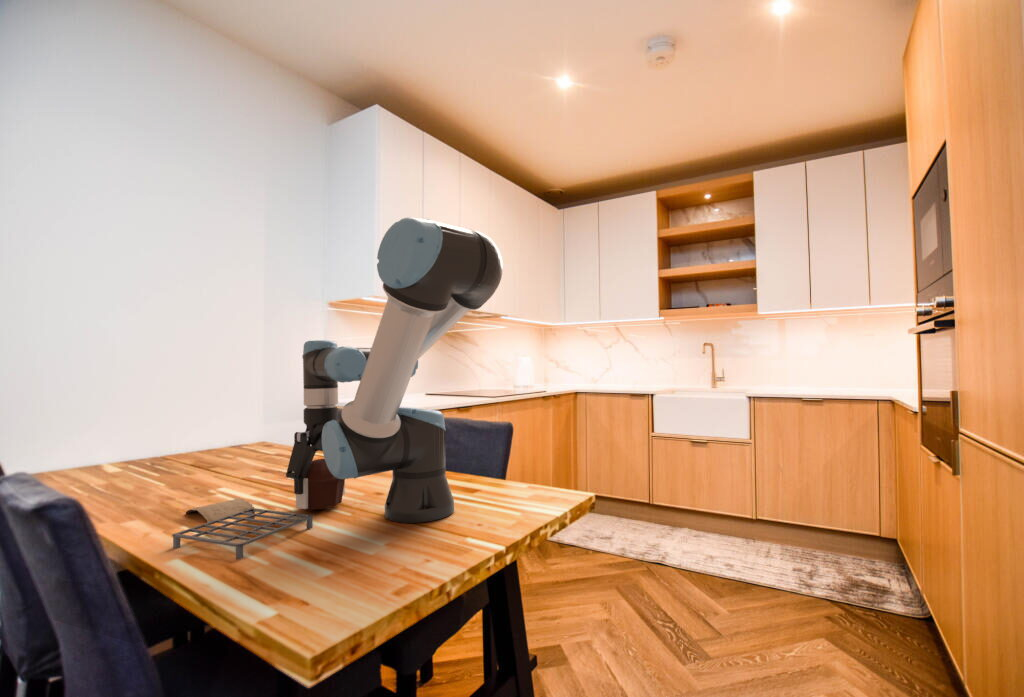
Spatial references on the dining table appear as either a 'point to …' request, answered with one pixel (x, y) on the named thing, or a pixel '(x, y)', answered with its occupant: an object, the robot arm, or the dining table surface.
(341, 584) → the dining table surface
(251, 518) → the cooling rack
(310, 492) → the muffin
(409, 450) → the robot arm
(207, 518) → the curved bark piece
